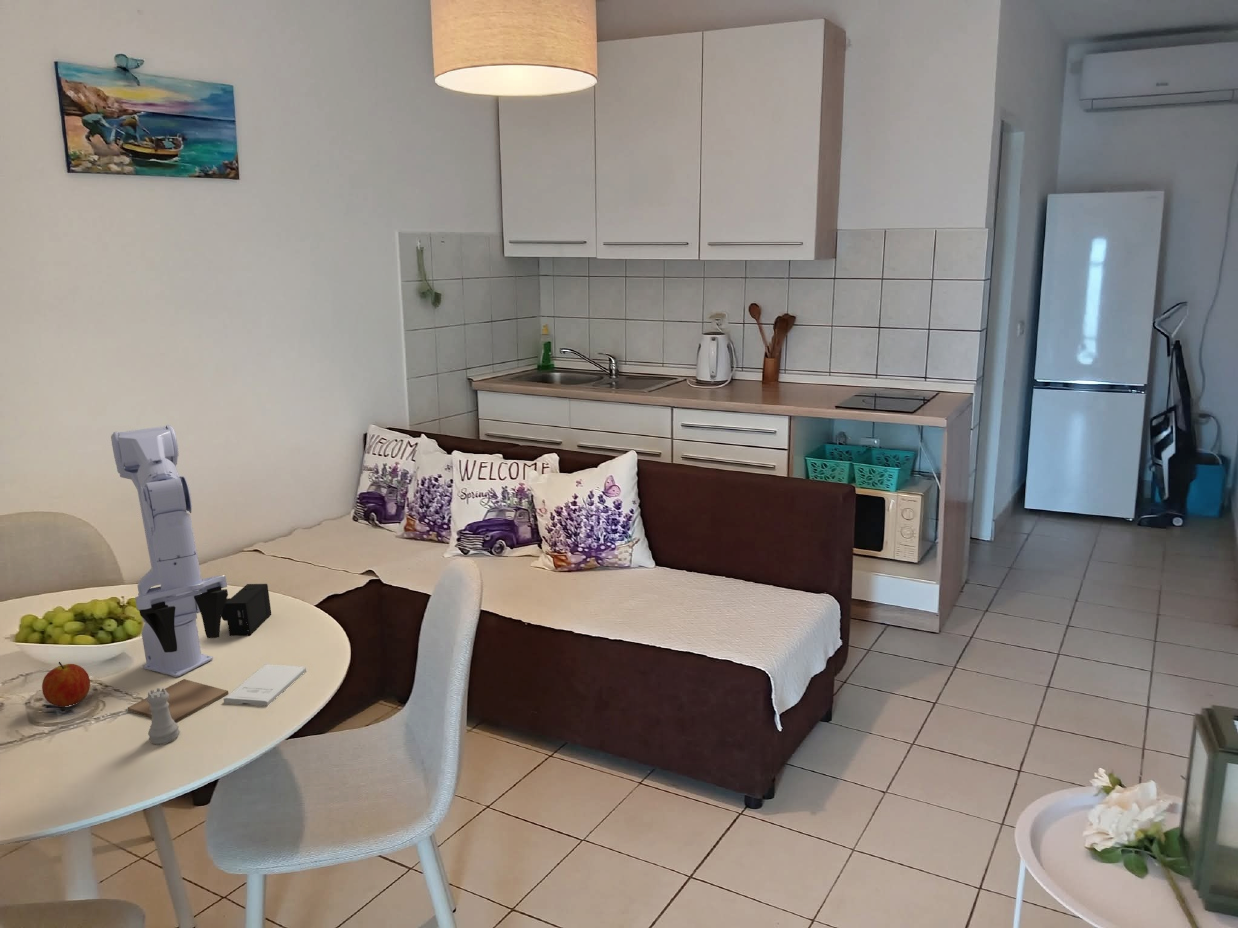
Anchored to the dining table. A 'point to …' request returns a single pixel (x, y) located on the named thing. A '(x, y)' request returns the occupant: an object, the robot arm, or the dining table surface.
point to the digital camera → (247, 610)
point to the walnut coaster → (183, 699)
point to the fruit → (66, 685)
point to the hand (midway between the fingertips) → (192, 644)
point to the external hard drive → (265, 685)
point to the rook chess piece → (161, 719)
